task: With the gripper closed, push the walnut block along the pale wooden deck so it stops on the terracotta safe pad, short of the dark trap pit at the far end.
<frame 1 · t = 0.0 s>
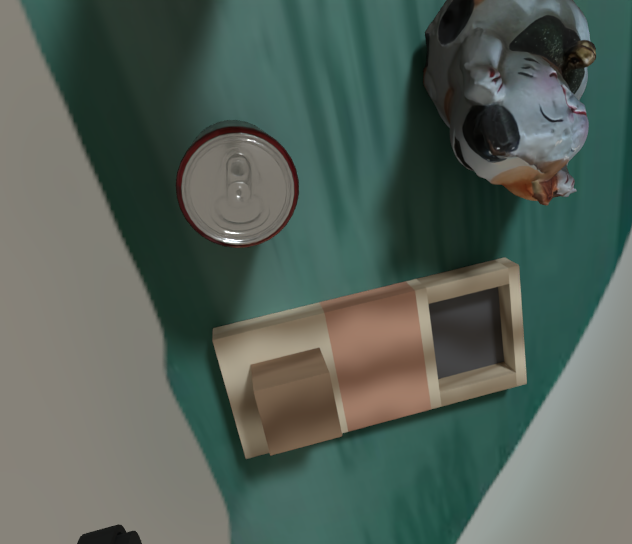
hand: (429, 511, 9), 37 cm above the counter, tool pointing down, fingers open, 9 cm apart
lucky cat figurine: (491, 86, 44), on the counter
soda can: (234, 166, 43), on the counter
trap deck: (373, 351, 50), on the counter
walnut block: (292, 386, 47), point 2 cm above the counter, touching trap deck
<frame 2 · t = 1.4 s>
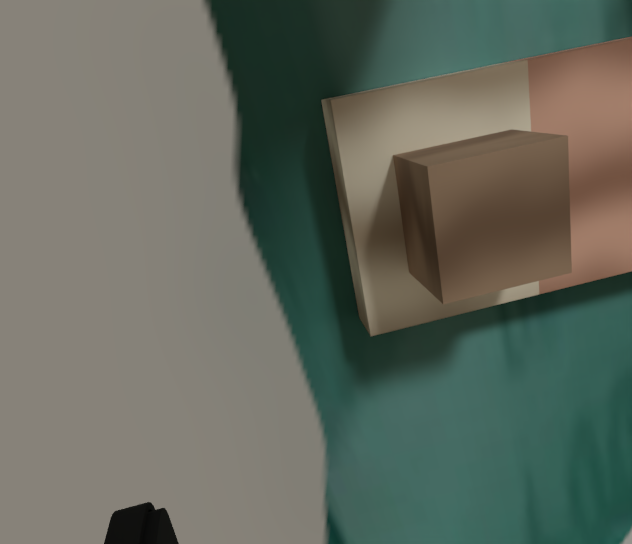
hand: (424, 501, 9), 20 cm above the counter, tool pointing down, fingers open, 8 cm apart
trap deck: (576, 163, 30), on the counter
walnut block: (458, 202, 27), point 2 cm above the counter, touching trap deck
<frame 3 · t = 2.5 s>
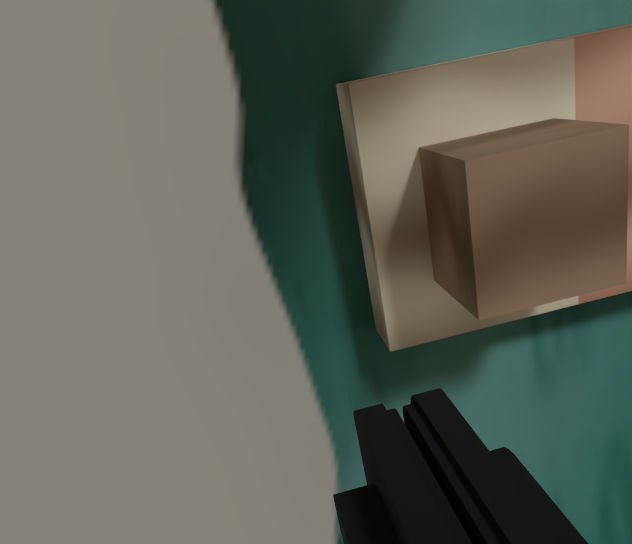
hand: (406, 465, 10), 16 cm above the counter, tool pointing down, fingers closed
trap deck: (620, 157, 27), on the counter
walnut block: (491, 201, 23), point 2 cm above the counter, touching trap deck
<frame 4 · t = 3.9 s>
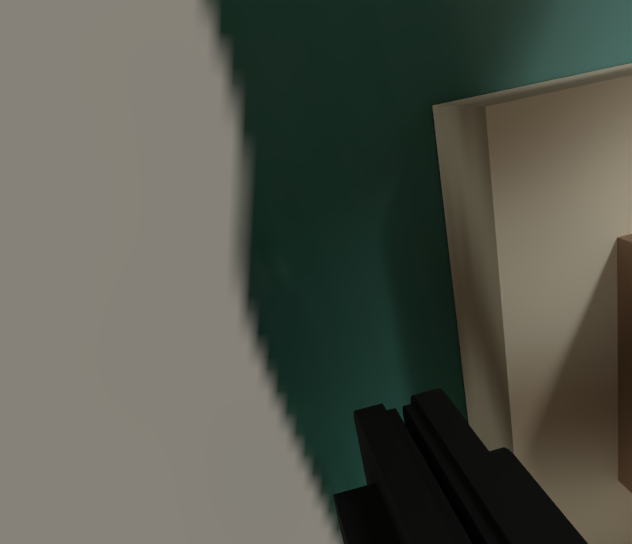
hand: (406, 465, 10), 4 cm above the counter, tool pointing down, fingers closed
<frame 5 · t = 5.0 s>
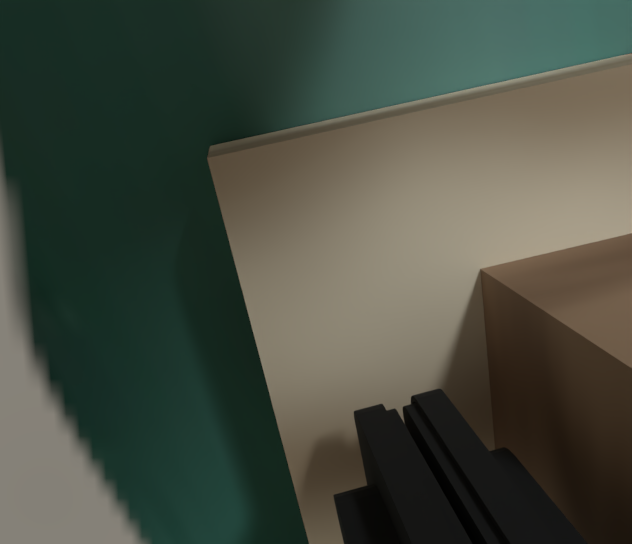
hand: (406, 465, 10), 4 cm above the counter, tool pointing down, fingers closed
walnut block: (620, 366, 12), point 3 cm above the counter, touching gripper
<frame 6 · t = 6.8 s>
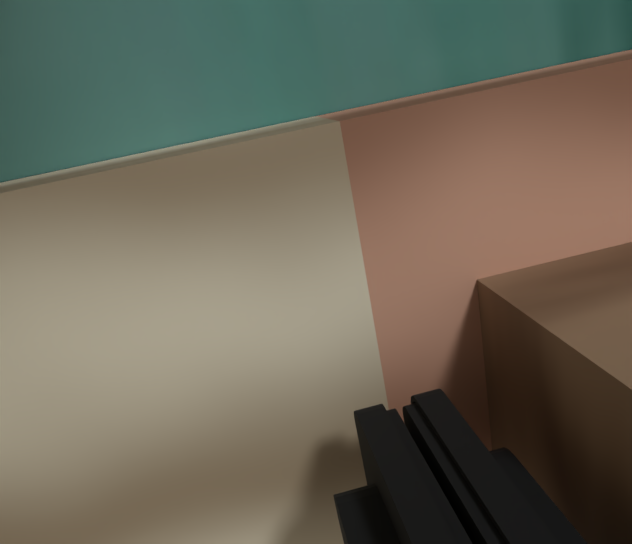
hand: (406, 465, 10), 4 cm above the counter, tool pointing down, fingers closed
trap deck: (508, 320, 14), on the counter
walnut block: (615, 373, 12), point 2 cm above the counter, touching gripper, trap deck
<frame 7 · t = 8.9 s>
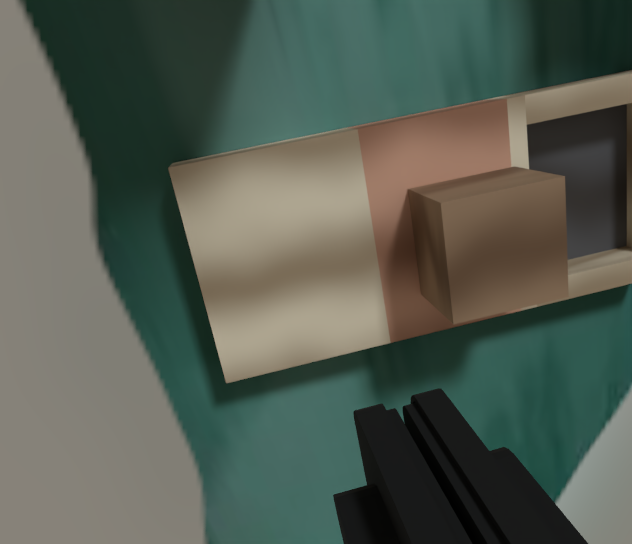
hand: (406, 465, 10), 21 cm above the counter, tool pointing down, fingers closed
trap deck: (429, 218, 31), on the counter
walnut block: (466, 231, 29), point 2 cm above the counter, touching trap deck
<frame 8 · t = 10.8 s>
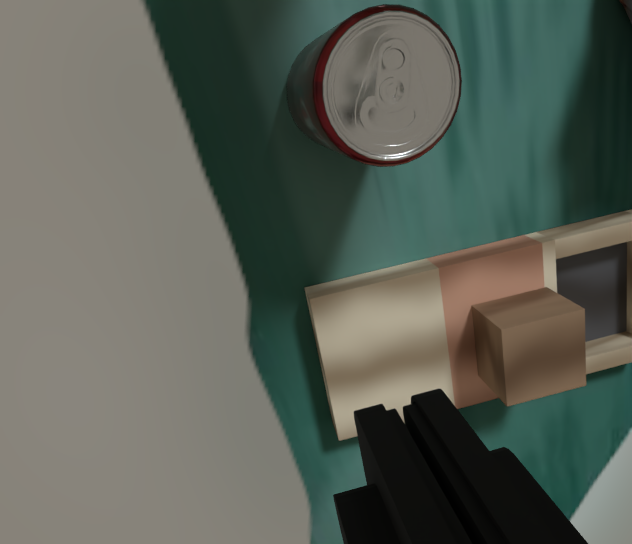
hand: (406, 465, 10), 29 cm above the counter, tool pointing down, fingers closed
soda can: (338, 92, 36), on the counter
trap deck: (482, 317, 43), on the counter
walnut block: (511, 331, 41), point 2 cm above the counter, touching trap deck
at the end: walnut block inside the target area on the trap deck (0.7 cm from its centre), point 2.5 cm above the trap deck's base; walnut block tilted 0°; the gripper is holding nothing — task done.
